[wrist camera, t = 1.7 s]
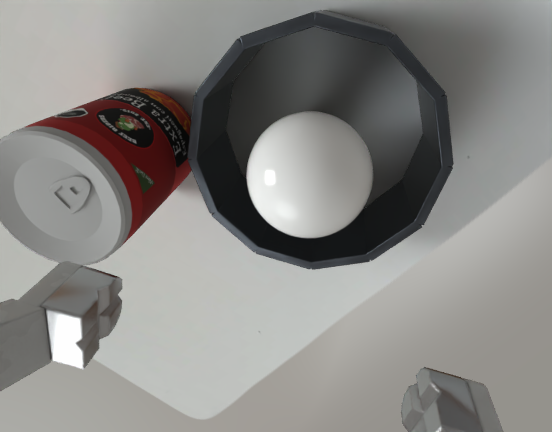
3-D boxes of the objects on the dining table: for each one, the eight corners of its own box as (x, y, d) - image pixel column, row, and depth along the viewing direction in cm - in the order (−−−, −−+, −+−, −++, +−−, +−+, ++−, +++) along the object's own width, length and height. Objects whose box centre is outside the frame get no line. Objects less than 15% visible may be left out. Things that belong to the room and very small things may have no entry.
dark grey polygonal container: (471, 49, 22) (507, 63, 17) (382, 242, 29) (389, 293, 24) (239, -13, 23) (206, -18, 18) (208, 192, 30) (178, 231, 25)
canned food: (221, 132, 27) (152, 200, 18) (167, 204, 31) (88, 291, 22) (131, 59, 26) (6, 91, 16) (87, 143, 30) (-36, 209, 20)
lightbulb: (316, 61, 24) (292, 99, 15) (388, 127, 25) (409, 202, 16) (256, 134, 27) (205, 205, 18) (323, 190, 28) (308, 285, 19)
